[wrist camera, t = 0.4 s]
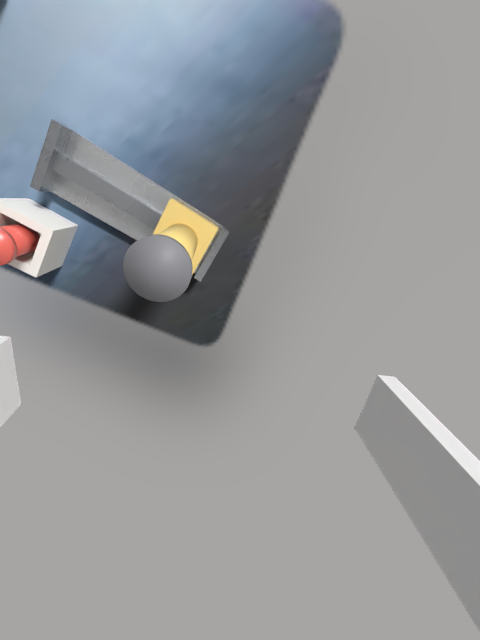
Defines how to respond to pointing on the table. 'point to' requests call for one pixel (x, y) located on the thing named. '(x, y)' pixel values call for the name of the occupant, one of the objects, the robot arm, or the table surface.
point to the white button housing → (50, 229)
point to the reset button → (16, 242)
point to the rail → (108, 188)
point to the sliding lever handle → (168, 254)
